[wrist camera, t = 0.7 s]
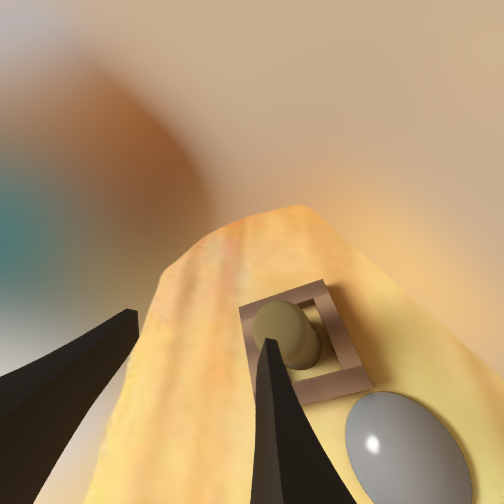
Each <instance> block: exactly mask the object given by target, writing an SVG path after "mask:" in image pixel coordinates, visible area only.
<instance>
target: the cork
mask: <svg viewBox="0 0 504 504" xmlns="http://www.w3.org/2000/svg"><path fill="white" fill-rule="evenodd" d="M252 330H253V338H254V340H255V343H256V345H257V347H258V349H259V350H260V351H261V350H262V347H263V344H264V341H265V338H270V339H274V340H277V342H278V345H279V349H280V352H281V356H282V359H283V362H284V365H285V366H287V367H289V368H290V369H294V370H306V369H308V368H310V367H312V366H313V365H314V364H315V363H316V362H317V360H318V359H319V356H320V354H321V340H320V336H319V334H318V332H317V331H316V329H315V328H314V327H313V326H312V325H311V324H310V323H309V320H308V318H307V317H306V315H305V313H304V312H303V310H301V309H300V308H299V307H298V306H297V305H295V304H293V303H291V302H289V301H283V300H277V301H272V302H269V303H268V304H266V305H264V306H263V307H262V308H261V309H260V310H259V311H258V313H257V314H256V316H255V318H254V322H253V327H252Z"/></svg>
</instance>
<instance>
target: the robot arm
mask: <svg viewBox="0 0 504 504" xmlns="http://www.w3.org/2000/svg"><path fill="white" fill-rule="evenodd" d="M138 338H139V327H138V311H136V310H131V309H125V310H123V311H122V312H120V313H118V314H117V315H115V316H113V317H112V318H110V319H109V320H107V321H106V322H104V323H102V324H101V325H99V326H97V327H96V328H94V329H92V330H90V331H89V332H87V333H85V334H84V335H82V336H80V337H79V338H77V339H75V340H73V341H71V342H70V343H68V344H66V345H64V346H62V347H61V348H59V349H57V350H55V351H53V352H51V353H50V354H48V355H46V356H44V357H42V358H40V359H38V360H36V361H33V362H32V363H29V364H27V365H26V366H23V367H21V368H19V369H17V370H15V371H13V372H10V373H8V374H6V375H3V376H1V377H0V504H33V503H34V501H35V499H36V497H37V495H38V494H39V492H40V490H41V488H42V487H43V485H44V483H45V481H46V480H47V478H48V476H49V475H50V473H51V471H52V469H53V468H54V466H55V464H56V462H57V460H58V459H59V457H60V456H61V454H62V452H63V451H64V449H65V447H66V446H67V444H68V442H69V441H70V439H71V438H72V436H73V434H74V432H75V431H76V429H77V428H78V426H79V425H80V423H81V421H82V420H83V418H84V417H85V415H86V414H87V412H88V410H89V408H91V406H92V405H93V403H94V402H95V400H96V399H97V398H98V396H99V395H100V394H101V392H102V391H103V389H104V388H105V387H106V385H107V384H108V383H109V381H110V380H111V379H112V377H113V376H114V375H115V373H116V372H117V371H118V369H119V368H120V367H121V365H122V364H123V362H124V361H125V360H126V358H127V357H128V355H129V354H130V352H131V351H132V349H133V347H134V345H135V344H136V342H137V340H138ZM250 504H357V503H356V501H355V500H354V498H353V497H352V495H351V494H350V492H349V491H348V489H347V487H346V486H345V484H344V483H343V481H342V480H341V478H340V476H339V475H338V473H337V472H336V470H335V468H334V466H333V465H332V463H331V461H330V460H329V458H328V456H327V454H326V453H325V451H324V449H323V448H322V446H321V444H320V442H319V441H318V439H317V437H316V435H315V433H314V431H313V429H312V427H311V425H310V423H309V421H308V419H307V417H306V415H305V413H304V411H303V409H302V407H301V405H300V403H299V400H298V398H297V396H296V393H295V391H294V389H293V386H292V384H291V381H290V378H289V376H288V373H287V371H286V368H285V365H284V362H283V359H282V356H281V352H280V349H279V345H278V342H277V340H274V339H270V338H265V341H264V344H263V347H262V350H261V353H260V356H259V359H258V364H257V374H256V433H255V452H254V465H253V478H252V490H251V501H250Z"/></svg>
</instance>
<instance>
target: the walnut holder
mask: <svg viewBox="0 0 504 504" xmlns="http://www.w3.org/2000/svg"><path fill="white" fill-rule="evenodd" d="M277 300H283V301H289V302H291V303H293V304H295V305H297V306H298V307H299V308H303V307H306V306H309V305H313V304H315V305H316V307H317V310H318V312H319V315H320V317H321V320H322V322H323V324H324V327H325V329H326V332H327V334H328V337H329V339H330V342H331V344H332V347H333V349H334V351H335V354H336V356H337V359H338V361H339V364H340V366H341V369H342V370H341V371H337V372H333V373H329V374H325V375H321V376H318V377H314V378H310V379H306V380H302V381H298V382H294V383H291V384H292V386H293V389H294V391H295V393H296V396H297V398H298V400H299V403H300V405H305V404H310V403H314V402H318V401H322V400H327V399H331V398H335V397H339V396H343V395H348V394H352V393H356V392H360V391H365V390H369V389H373V386H372V384H371V382H370V379H369V377H368V375H367V373H366V371H365V369H364V367H363V364H362V362H361V360H360V358H359V356H358V354H357V352H356V349H355V347H354V345H353V343H352V341H351V339H350V337H349V335H348V332H347V330H346V328H345V326H344V324H343V322H342V320H341V317H340V315H339V313H338V311H337V309H336V307H335V305H334V302H333V300H332V298H331V296H330V294H329V292H328V290H327V287H326V285H325V283H324V281H323V279H321V280H318V281H315V282H312V283H309V284H306V285H303V286H300V287H297V288H294V289H291V290H288V291H285V292H282V293H279V294H277V295H274V296H271V297H268V298H265V299H262V300H259V301H256V302H253V303H250V304H247V305H244V306H241V307H239V312H240V318H241V324H242V330H243V336H244V341H245V347H246V353H247V359H248V365H249V371H250V376H251V382H252V388H253V394H254V400H255V406H256V374H257V364H258V359H259V356H260V353H261V351H260V350H259V349H258V347H257V345H256V343H255V340H254V338H253V330H252V327H253V322H254V318H255V316H256V314H257V313H258V311H259V310H260V309H261V308H262V307H263V306H264V305H266V304H268V303H269V302H272V301H277Z"/></svg>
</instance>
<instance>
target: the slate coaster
mask: <svg viewBox="0 0 504 504" xmlns="http://www.w3.org/2000/svg"><path fill="white" fill-rule="evenodd" d="M345 438H346V447H347V452H348V456H349V459H350V463H351V465H352V468H353V470H354V473H355V475H356V477H357V479H358V481H359V483H360V484H361V486H362V488H363V489H364V491H365V492H366V494H367V495H368V496H369V498H370V499H371V500H372V501H373V502H374V504H471V503H472V485H471V479H470V474H469V471H468V468H467V464H466V462H465V459H464V457H463V455H462V453H461V451H460V449H459V447H458V445H457V443H456V442H455V440H454V439H453V437H452V436H451V434H450V433H449V432H448V431H447V429H446V428H445V427H444V426H443V425H442V423H441V422H440V421H439V420H438V419H437V418H436V417H435V416H434V415H432V414H431V413H430V412H429V411H428V410H426V409H425V408H424V407H422V406H421V405H419V404H418V403H416V402H414V401H413V400H411V399H409V398H406V397H404V396H401V395H398V394H394V393H389V392H375V393H370V394H367V395H365V396H363V397H362V398H360V399H359V400H358V401H357V402H356V403H355V404H354V405H353V407H352V408H351V410H350V412H349V415H348V418H347V421H346V428H345Z"/></svg>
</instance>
